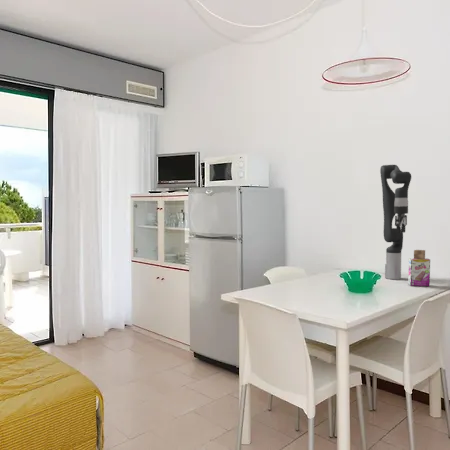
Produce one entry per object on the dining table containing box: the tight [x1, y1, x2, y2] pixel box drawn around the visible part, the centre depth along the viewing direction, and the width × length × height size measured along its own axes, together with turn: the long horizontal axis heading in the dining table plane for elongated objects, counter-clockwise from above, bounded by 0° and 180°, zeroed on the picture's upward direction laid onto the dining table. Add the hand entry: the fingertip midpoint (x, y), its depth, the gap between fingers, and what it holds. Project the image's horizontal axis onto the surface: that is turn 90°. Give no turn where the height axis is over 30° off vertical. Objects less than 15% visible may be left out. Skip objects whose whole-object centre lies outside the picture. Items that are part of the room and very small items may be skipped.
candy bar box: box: [407, 257, 431, 287], centre depth 252 cm, size 11×5×16 cm, turn 84°
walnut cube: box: [413, 249, 426, 259], centre depth 252 cm, size 5×5×5 cm
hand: (400, 232), depth 249 cm, fingers open, 8 cm apart
